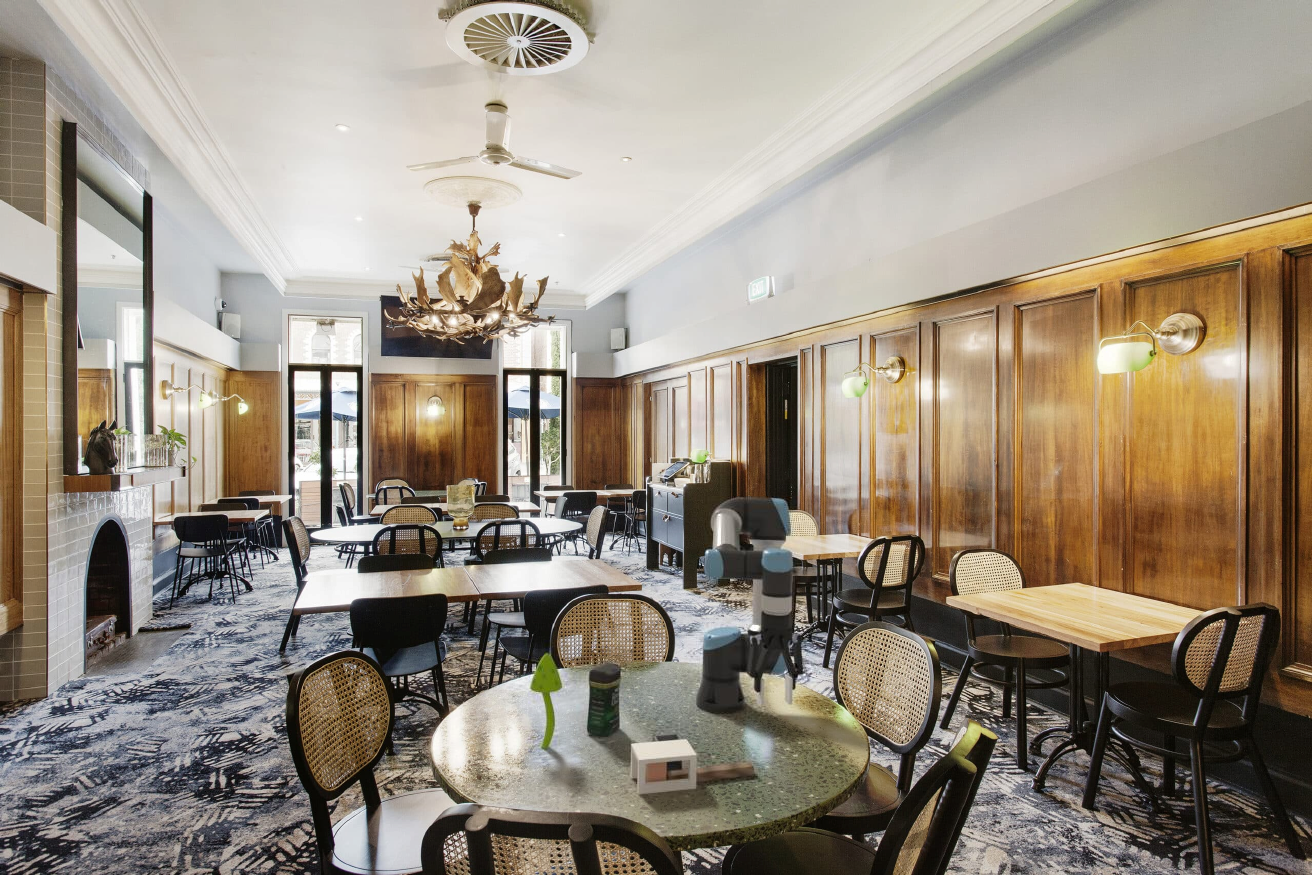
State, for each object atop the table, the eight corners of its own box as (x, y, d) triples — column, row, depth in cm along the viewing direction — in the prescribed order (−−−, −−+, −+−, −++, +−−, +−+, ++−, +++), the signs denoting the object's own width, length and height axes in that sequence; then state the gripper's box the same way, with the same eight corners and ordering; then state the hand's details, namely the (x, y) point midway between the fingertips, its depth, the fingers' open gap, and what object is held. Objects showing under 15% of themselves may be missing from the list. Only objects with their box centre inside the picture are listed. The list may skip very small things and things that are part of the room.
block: (661, 778, 172) (662, 753, 172) (666, 787, 168) (666, 761, 168) (643, 779, 171) (644, 755, 171) (647, 788, 167) (648, 763, 167)
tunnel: (679, 760, 182) (679, 729, 182) (696, 788, 167) (696, 754, 167) (625, 764, 179) (626, 733, 179) (638, 794, 164) (639, 759, 164)
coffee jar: (607, 740, 193) (608, 672, 193) (582, 734, 196) (584, 667, 196) (624, 727, 202) (625, 662, 202) (600, 722, 205) (601, 658, 205)
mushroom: (532, 739, 192) (534, 647, 192) (563, 740, 192) (565, 648, 192) (525, 753, 184) (527, 657, 184) (557, 754, 184) (559, 658, 184)
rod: (749, 771, 177) (749, 761, 177) (753, 776, 175) (753, 766, 175) (665, 781, 171) (665, 771, 171) (668, 786, 169) (668, 776, 169)
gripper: (806, 606, 183) (804, 695, 183) (733, 609, 178) (732, 700, 178) (819, 613, 176) (817, 706, 175) (744, 616, 171) (742, 711, 171)
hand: (774, 703), depth 177 cm, fingers open, 7 cm apart
